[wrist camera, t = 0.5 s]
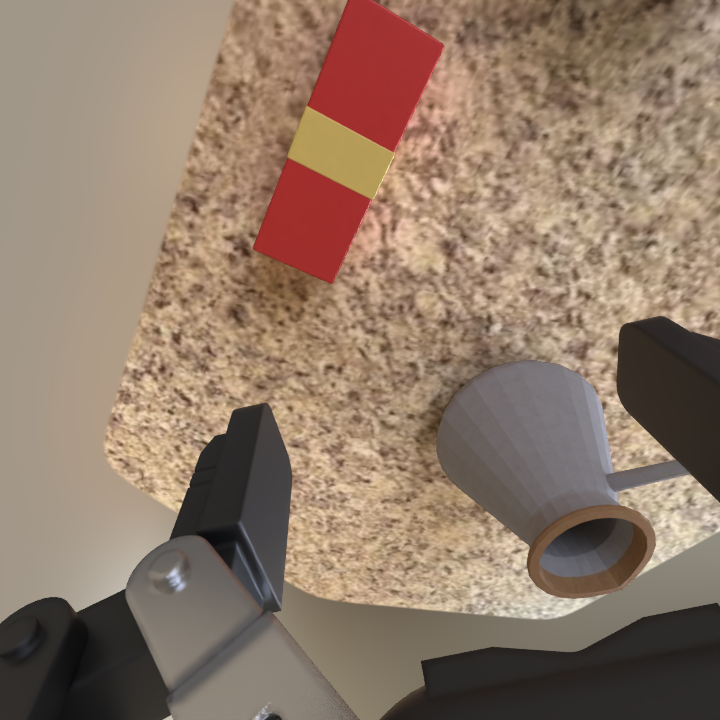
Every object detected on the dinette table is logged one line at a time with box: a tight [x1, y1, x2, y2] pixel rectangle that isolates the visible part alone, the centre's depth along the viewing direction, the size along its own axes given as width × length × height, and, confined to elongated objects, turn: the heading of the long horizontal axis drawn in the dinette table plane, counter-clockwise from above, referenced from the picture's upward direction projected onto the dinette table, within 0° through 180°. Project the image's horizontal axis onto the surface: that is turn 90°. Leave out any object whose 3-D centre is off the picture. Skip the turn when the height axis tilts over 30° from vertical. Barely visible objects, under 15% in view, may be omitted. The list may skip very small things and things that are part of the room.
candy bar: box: [253, 0, 444, 284], centre depth 24 cm, size 12×5×4 cm, turn 154°
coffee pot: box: [437, 360, 690, 599], centre depth 27 cm, size 21×12×15 cm, turn 130°
